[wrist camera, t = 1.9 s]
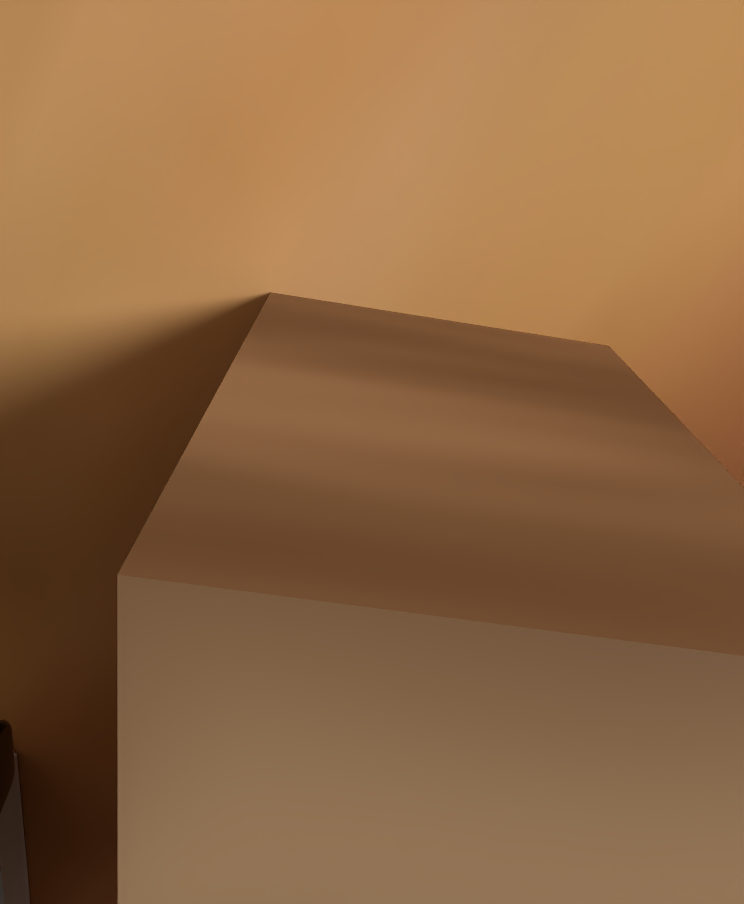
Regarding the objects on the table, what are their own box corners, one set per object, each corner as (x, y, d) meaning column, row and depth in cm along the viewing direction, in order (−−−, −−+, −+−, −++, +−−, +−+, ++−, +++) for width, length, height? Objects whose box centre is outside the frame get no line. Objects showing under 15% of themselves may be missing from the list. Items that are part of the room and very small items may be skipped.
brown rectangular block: (428, 898, 13) (459, 1367, 8) (215, 876, 13) (118, 1347, 8) (605, 342, 8) (925, 677, 4) (271, 288, 8) (116, 575, 3)
